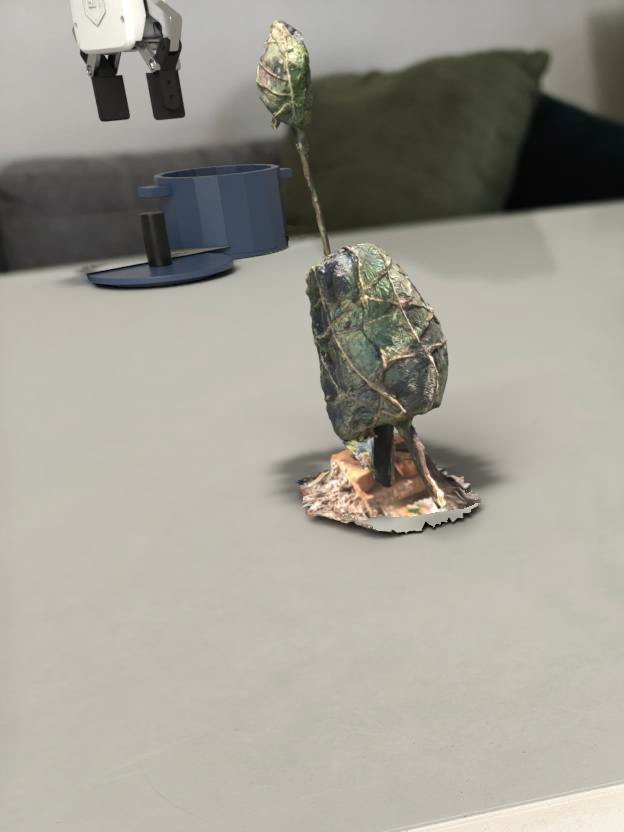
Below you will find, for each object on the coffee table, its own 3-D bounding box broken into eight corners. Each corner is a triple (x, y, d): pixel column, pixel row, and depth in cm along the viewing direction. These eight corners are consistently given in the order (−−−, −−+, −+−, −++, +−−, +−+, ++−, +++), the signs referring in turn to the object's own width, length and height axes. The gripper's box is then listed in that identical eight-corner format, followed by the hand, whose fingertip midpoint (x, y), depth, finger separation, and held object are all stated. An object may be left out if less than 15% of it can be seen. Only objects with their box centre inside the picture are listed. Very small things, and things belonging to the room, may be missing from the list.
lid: (62, 283, 115) (47, 219, 112) (183, 260, 124) (172, 200, 121) (139, 296, 106) (125, 226, 103) (263, 270, 115) (254, 205, 112)
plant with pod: (314, 573, 46) (235, 14, 37) (292, 484, 56) (226, 25, 46) (506, 545, 47) (477, -1, 38) (452, 463, 57) (418, 14, 48)
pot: (124, 260, 127) (108, 179, 123) (260, 235, 139) (249, 160, 135) (192, 269, 118) (177, 182, 114) (331, 241, 130) (321, 162, 126)
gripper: (18, -78, 104) (62, 124, 112) (117, -104, 94) (158, 122, 102) (91, -76, 109) (128, 118, 117) (193, -101, 98) (226, 114, 106)
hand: (142, 119), depth 109 cm, fingers open, 9 cm apart
